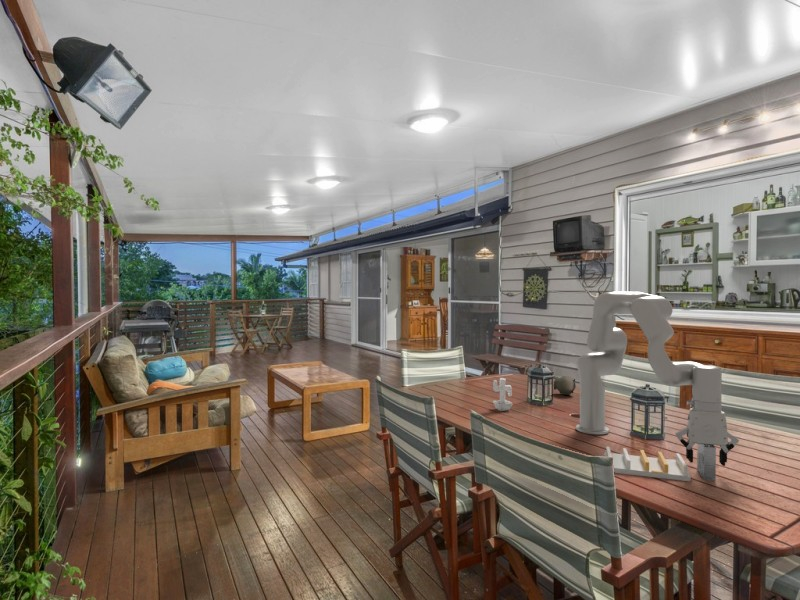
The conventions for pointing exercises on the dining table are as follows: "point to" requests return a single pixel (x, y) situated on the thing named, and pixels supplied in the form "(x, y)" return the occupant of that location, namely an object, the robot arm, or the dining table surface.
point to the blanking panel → (706, 461)
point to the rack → (649, 465)
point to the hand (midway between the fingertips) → (706, 462)
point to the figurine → (502, 395)
